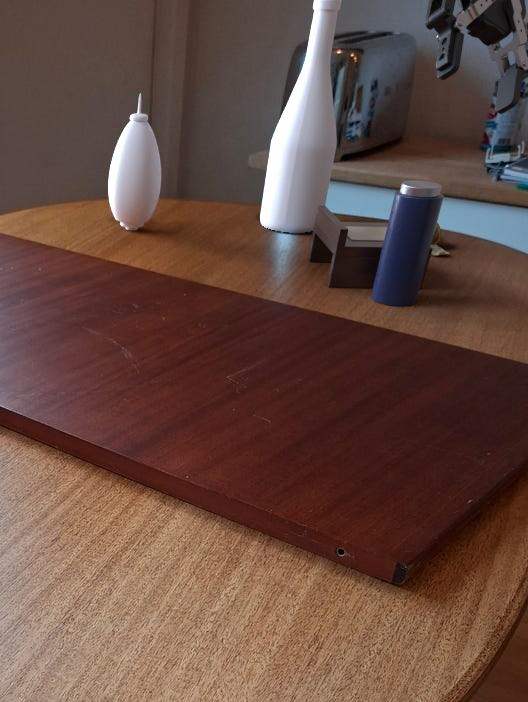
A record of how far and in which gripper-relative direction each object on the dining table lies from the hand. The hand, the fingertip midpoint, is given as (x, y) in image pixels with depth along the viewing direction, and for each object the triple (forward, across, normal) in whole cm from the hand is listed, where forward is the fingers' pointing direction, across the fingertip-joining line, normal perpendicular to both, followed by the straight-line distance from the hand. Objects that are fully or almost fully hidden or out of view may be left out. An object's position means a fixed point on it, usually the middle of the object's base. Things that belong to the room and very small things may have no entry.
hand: (477, 92), depth 90 cm
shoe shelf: (+6, +11, +26) cm, 29 cm away
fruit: (-3, +24, +31) cm, 40 cm away
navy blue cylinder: (+13, +9, +18) cm, 24 cm away
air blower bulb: (-3, -10, +55) cm, 56 cm away
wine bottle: (-8, +13, +47) cm, 49 cm away
